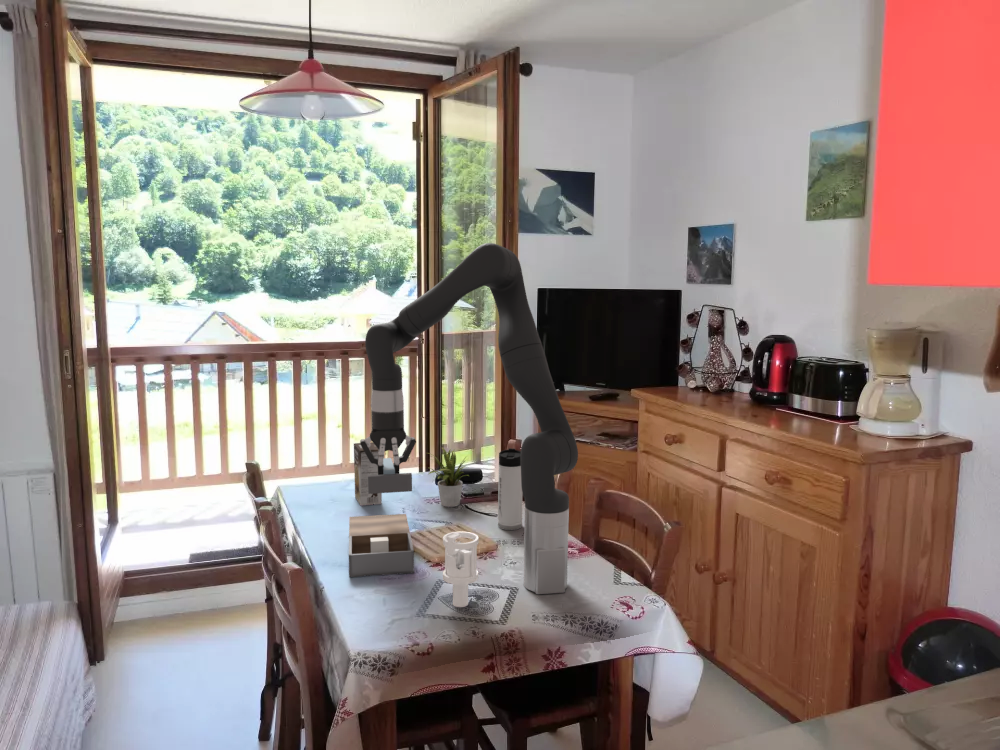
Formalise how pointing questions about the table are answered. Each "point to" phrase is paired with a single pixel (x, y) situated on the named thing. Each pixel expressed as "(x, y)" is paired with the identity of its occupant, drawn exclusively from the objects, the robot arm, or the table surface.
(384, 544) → the tile
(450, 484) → the house plant
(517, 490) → the travel mug
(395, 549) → the wooden box lid
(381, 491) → the scraper
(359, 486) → the coffee box
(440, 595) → the table surface
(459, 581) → the white slotted cylindrical fitting
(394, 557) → the box
